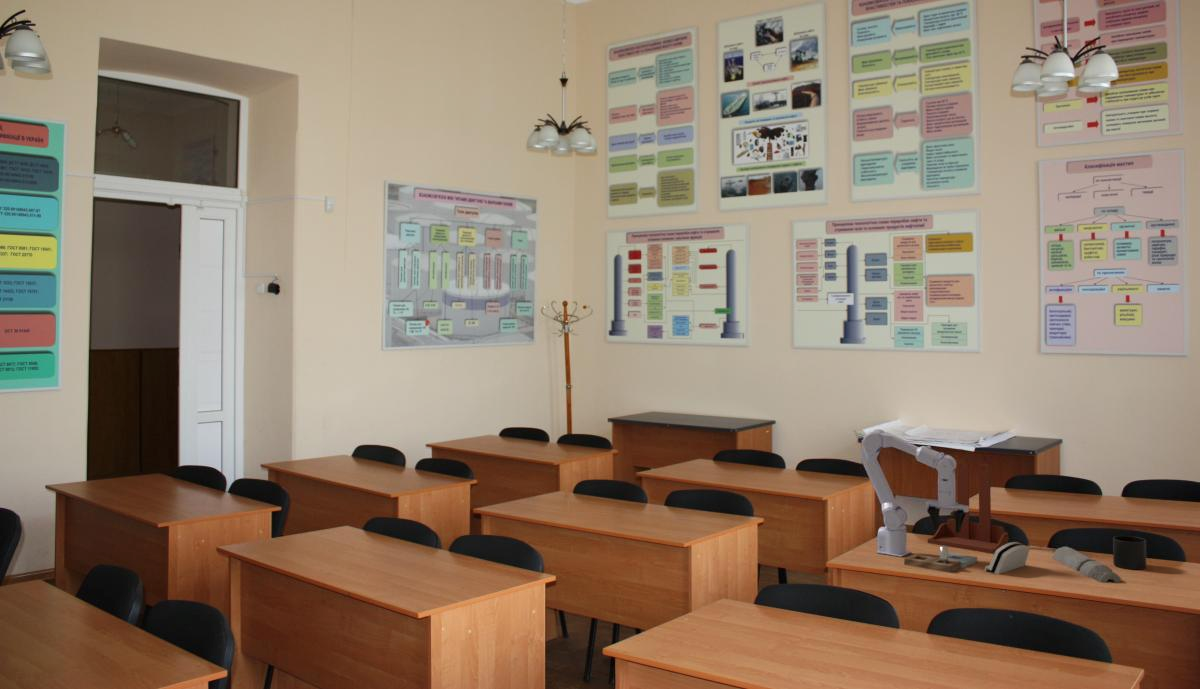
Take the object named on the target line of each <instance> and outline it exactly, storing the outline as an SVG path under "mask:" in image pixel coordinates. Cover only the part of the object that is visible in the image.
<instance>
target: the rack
mask: <svg viewBox="0 0 1200 689" xmlns="http://www.w3.org/2000/svg"><path fill="white" fill-rule="evenodd" d="M937 557H938V556H937ZM937 557H936V556H929V555H923V554H918V553H917V554H916V553H914V554H911V555H909V556H907V557H904V558H903V560H904V563H903V564H904V565H906V566H911V567H916V568H917V567H918V568H924V569H930V570H936V571H941V572H946V573H952V572H954V571H956V570H957V571H958V569H959V570H960V569H961V568H962V567H961V561H955V560H949V559H948V564H944V563H940V558H937Z"/></svg>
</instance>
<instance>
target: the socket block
mask: <svg viewBox="0 0 1200 689" xmlns="http://www.w3.org/2000/svg"><path fill="white" fill-rule="evenodd" d="M937 558H940V555H939V556H937ZM948 559H949V560H955V561H961V568H966V567H968V566H971V565H972V564H975V563H977V562H978V556H973V555H967V554H962V553H955V552H949V551H948Z"/></svg>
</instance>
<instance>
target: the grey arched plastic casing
mask: <svg viewBox="0 0 1200 689" xmlns="http://www.w3.org/2000/svg"><path fill="white" fill-rule="evenodd" d="M1029 553H1030V548H1029V547H1028V546H1026V545H1024V544H1023V543H1020V542H1018V541H1012V542H1008V543H1007V544H1005V545H1003V546H1001V547H1000V548H998V549H997V550H996V551H995V553H993V556H992V558H991V561H990V563H989V565H985V566H984V567H985V568H984V570H983V571H984V572H988V571H993V572H994V574H996V575H999V574H1003V573H1006V572H1009V571H1013V570H1015V569H1019V568H1021V567H1025V566H1026V563H1027V559H1028V556H1029Z"/></svg>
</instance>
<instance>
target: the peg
mask: <svg viewBox="0 0 1200 689" xmlns="http://www.w3.org/2000/svg"><path fill="white" fill-rule="evenodd" d="M948 552H949V546H943V545H939V556H940V563H944V564H948Z"/></svg>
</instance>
